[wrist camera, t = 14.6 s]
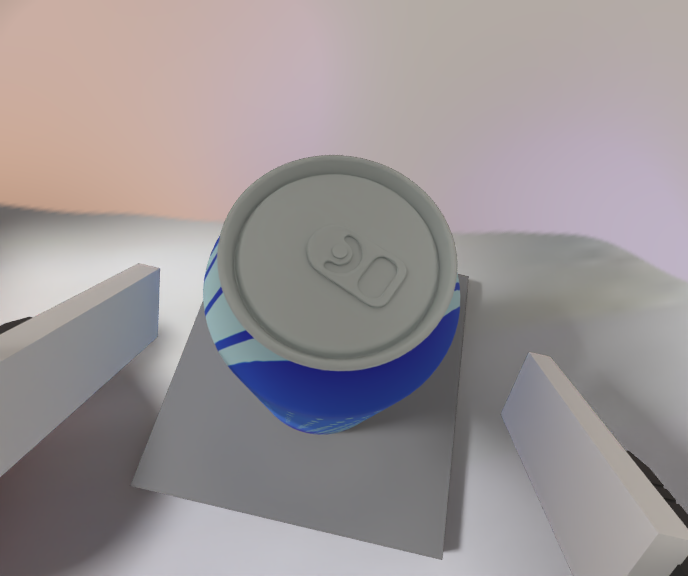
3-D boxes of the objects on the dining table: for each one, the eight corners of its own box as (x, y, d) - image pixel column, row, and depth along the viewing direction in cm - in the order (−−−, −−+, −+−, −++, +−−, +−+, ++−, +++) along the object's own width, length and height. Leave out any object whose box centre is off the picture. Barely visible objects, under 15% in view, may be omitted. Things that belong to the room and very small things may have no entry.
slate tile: (140, 483, 23) (130, 485, 22) (237, 232, 30) (233, 222, 29) (434, 553, 23) (442, 560, 22) (461, 284, 30) (468, 276, 29)
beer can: (272, 453, 23) (206, 457, 8) (245, 323, 26) (161, 155, 11) (403, 412, 24) (544, 355, 10) (363, 294, 27) (426, 113, 13)
